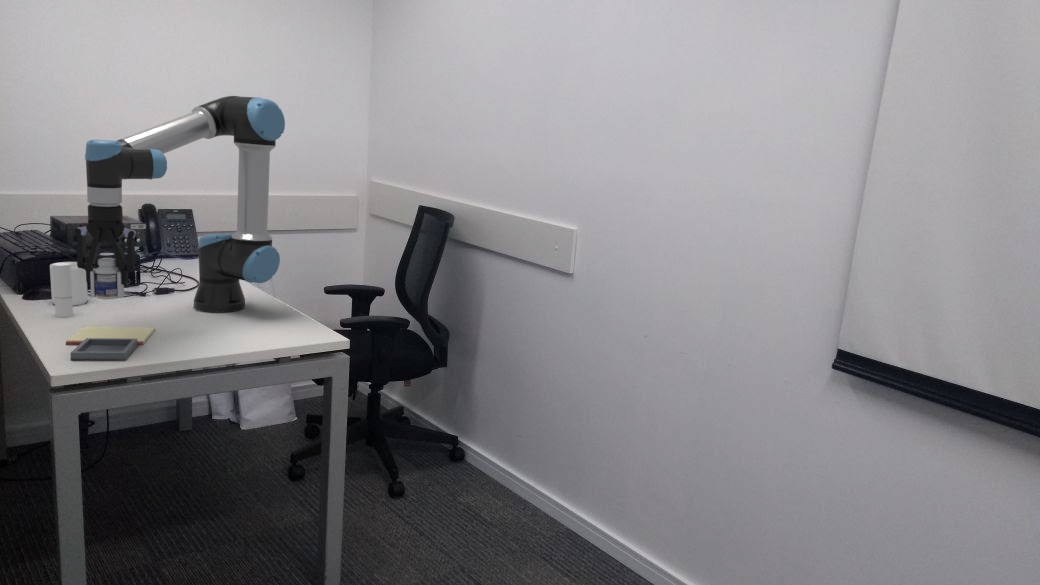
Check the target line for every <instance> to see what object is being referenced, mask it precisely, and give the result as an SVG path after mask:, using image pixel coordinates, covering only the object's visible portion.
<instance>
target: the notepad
mask: <svg viewBox="0 0 1040 585" xmlns="http://www.w3.org/2000/svg"><path fill="white" fill-rule="evenodd" d="M155 331H156V328H155V327H146V326H145V327H144V326H143V327H141V326H139V327H137V326H136V327H134V326H133V327H132V326H130V327H129V326H127V327H126V326H122V327H121V326H82V327H81V328H80V329H79V330H77V331H76V332H75V333H74V334H73V335H72V336H70V338H68V339H67V340H66V341H65V345H66V346H78V345H79V344H81V343H82V342H83V341H84V340H85V339H86V338H119V339H138V346H139V345H142V346H143V345H144V344H146V343H147V341H148V339H149V338H150V337H151V336H152V335H153V333H155ZM151 334H152V335H151ZM146 340H147V341H146Z"/></svg>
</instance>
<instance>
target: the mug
mask: <svg viewBox="0 0 1040 585" xmlns="http://www.w3.org/2000/svg"><path fill="white" fill-rule="evenodd" d="M58 263H70V268H71V286H72V303H73V307H74V306H76V307H77V306H81V305H84V304H86V303H87V302H88V299H89V297H88V295H89V294H88V283H87V282H86V271H85V270H84V269H82V268H78V267H77V261H62V262H58ZM53 264H54V263H51V264H50V265H49V276H50V277H49V278H50V289H51V291H50V292H51V302H52V304H53V305H55V294H54V278H53Z"/></svg>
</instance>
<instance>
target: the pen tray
mask: <svg viewBox="0 0 1040 585" xmlns="http://www.w3.org/2000/svg"><path fill="white" fill-rule="evenodd" d="M136 347H139V345H138V339H119V338H86V339H85V340H84V341H83V342H82V343H81V344H79V345H76V347H75V348H73V350H71V351H70V361H71V360H73V361H74V362H79V361H80V362H83V361H84V360H89V361H90V360H91V361H90V362H92V360H93V361H95V362H103V361H105V362H106V361H108V362H109V361H110V362H111V361H113V362H115V361H116V362H124V361H125V362H126V360H128V358H129V357H130V356H131V355H132V354H133V352H134V351H135V350H136V349H137V348H136ZM135 348H136V349H135ZM130 354H131V355H130ZM77 360H78V361H77ZM82 360H83V361H82ZM89 361H88V362H89Z"/></svg>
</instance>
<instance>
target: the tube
mask: <svg viewBox="0 0 1040 585" xmlns="http://www.w3.org/2000/svg"><path fill="white" fill-rule="evenodd" d="M52 264H53V263H52ZM53 278H54V294H55V304H54V305H55V306H54V308H55V310H54V311H55V317H56V318H70V317H73V316H74V308H73V307H74V306H73V303H72V286H71V268H70V263H59V262H55V263H54V264H53Z"/></svg>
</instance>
